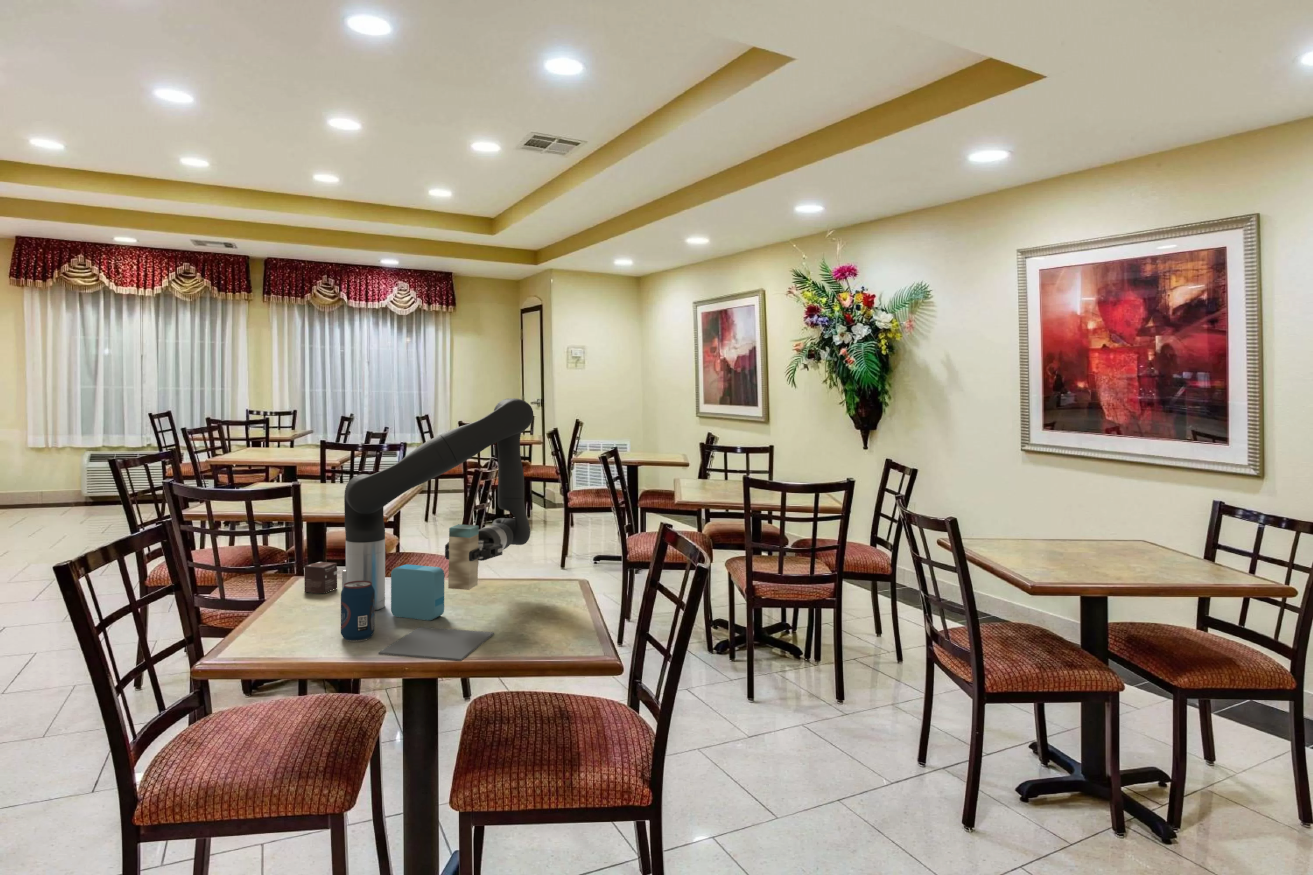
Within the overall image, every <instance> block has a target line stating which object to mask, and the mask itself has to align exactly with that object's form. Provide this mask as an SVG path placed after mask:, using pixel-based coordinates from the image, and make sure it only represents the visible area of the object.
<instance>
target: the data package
mask: <svg viewBox="0 0 1313 875" xmlns="http://www.w3.org/2000/svg"><path fill="white" fill-rule="evenodd" d="M390 612H391V614H392V616H394V617H395V616H396V617H397V618H403V619H411V618H412V620H421V621H432V620H434V619H437V618H438V617H441V616H442V615H443V614H444V613H445V571H444V570H443V569H442V567H439V566H431V565H430V566H428V565H421V564H420V565H419V564H410V563H409V564H403V565H399V566H397V567H395V568H394V567H393V569H392V570H391V573H390ZM396 617H395V618H396Z"/></svg>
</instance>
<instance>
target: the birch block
mask: <svg viewBox="0 0 1313 875" xmlns="http://www.w3.org/2000/svg"><path fill="white" fill-rule="evenodd" d="M479 529H480V526H479V525H477V524H476V525H475V524H474V525H473V524H457V525H453V526H451V527H449V528H448V530H449V531H448V532H449V534H448V536H449V537H448V538H449V539H448V542H449V559H448V582H447V583H448V584H447V585H448V586H447V588H448V589H453V590H464V591H465V590H466V591H470V590H471V589H473V588H475V587H476V586H478V577H479V576H478V573H479V560H478V559H476V560H474V561H469V552H470V551H472V550H474V549H477V548H478V534H479Z"/></svg>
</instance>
